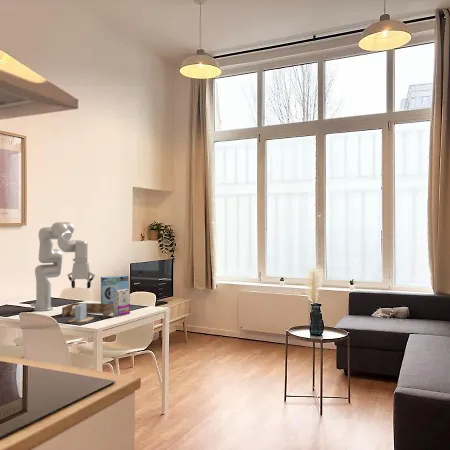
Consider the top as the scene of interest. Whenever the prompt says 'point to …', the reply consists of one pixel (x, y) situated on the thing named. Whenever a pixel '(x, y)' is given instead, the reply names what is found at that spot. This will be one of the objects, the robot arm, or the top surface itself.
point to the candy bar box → (121, 302)
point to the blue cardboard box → (112, 287)
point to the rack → (90, 308)
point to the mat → (81, 320)
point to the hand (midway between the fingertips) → (81, 288)
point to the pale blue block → (80, 312)
